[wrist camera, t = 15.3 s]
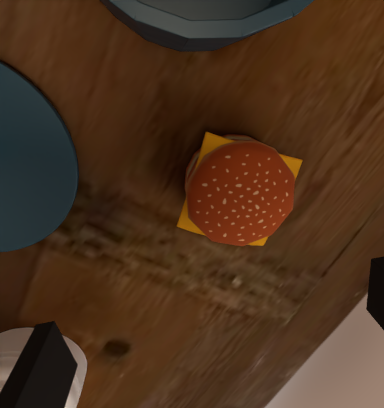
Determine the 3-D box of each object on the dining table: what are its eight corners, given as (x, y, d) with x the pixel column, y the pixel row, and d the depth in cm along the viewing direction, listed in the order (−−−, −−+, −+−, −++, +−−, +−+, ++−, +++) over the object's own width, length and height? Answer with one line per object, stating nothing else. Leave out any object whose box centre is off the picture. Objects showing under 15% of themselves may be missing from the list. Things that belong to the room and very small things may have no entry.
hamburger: (258, 227, 31) (280, 265, 25) (172, 210, 29) (173, 245, 23) (293, 143, 27) (328, 164, 21) (196, 118, 26) (204, 132, 20)
